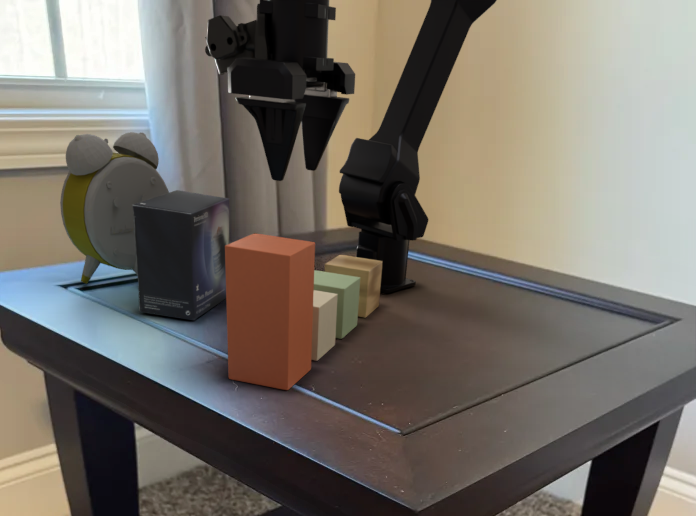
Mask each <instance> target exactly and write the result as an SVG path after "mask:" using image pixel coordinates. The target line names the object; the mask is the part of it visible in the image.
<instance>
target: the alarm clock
mask: <svg viewBox="0 0 696 516" xmlns="http://www.w3.org/2000/svg"><path fill="white" fill-rule="evenodd" d="M108 143H109V139H108V138H104V139H103V138H101V137H99V136H97V135H95V134H91V133H90V134H89V133H86V134H85V133H84V134H83V133H82V134H76V135H75V136H74V137H73V138H72V139H71V140H70V141H69V142H68V145H67V147H66V151H65V163H66V167H67V169H68V173H67V175H66V177H65V179H64V181H63V185H62V188H61V193H60V203H59V204H60V215H61V220H62V225H63V227H64V230H65V232H66V235H67V237H68V239H69V240H70V242H71V243H72V245H73V246H74V247H75V248H76V249H77V250H78V251H79V252H80V253H81V254H83V256H85V259H84V264H83V268H82V273H81V276H80V277H81V278H80V282H81V283H84V284H85V285H88V283H89V282H90V280H91V278H92V277H93V275H94V274H95V272H96V271H97V269H98V268H99V266H100V265H101V264H102V265H106V266H109V267H112V268H115V269H119V270H122V271H123V270H124V271H133V272H134V273H135V274H136V276H137V277H138V274H137V259H136V249H135V236H134V222H133V207H132V205H133V204H135V203H138V202H142V201H145V200H148V199H151V198H154V197H157V196H160V195H163V194H166V193H169V191H170V190H169V188H168V187H167V184H166V182H165V180H164V179H163V177H162V175H161V174H160V173H159V172H158V171H157V169H158V167H159V163H160V162H159V153H158V151H157V148H156V146H155V144H153V142H152V141H151V140H150V138H149V137H147V134H145V133H144V132H135V131H130V132H125V133H123V134H121V135H120V136H119V137H117V139H116V140H115V141H114V142H113V145H112V148H111V147H110V145H109V144H108ZM112 149H113V150H114V151H113V150H112Z"/></svg>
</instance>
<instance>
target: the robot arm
mask: <svg viewBox="0 0 696 516" xmlns="http://www.w3.org/2000/svg"><path fill="white" fill-rule="evenodd" d="M497 1H498V0H430V4H429V6H428V9H427V12H426V15H425V17H424V19H423V21H422V24H421V25H420V26H421V27H420V28H419V31H418V34H417V36H416V39H415V41H414V43H413V46H412V48H411V51H410V53H409V56H408V58H407V60H406V63H405V65H404V68H403V69H402V72H401V75H400V77H399V80H398V82H397V84H396V87H395V89H394V91H393V94H392V97H391V99H390V102H389V104H388V106H387V109H386V111H385V114H384V115H383V119H382V121H381V123H380V126H379V128H378V129H377V131H376V132H375V134H373V135H372V136H371V137H370V138H369V139H365V138H359V137H356V138H355V139H354V140H353V142H352V143H351V145H350V147H349V151H348V155H347V158H346V161H345V162H344V164H343V165H342V167H340V169H339V174H342V176H341V177H340V181H339V185H338V193H339V195H340V199H341V204H342V206H343V211H344V216H345V220H346V225H347V227H349V228H355V229H359V230H361V231H358V237H357V239H358V241H357V247H356V255H355V257H359V258H365V259H372V260H378V261H382V274H381V286H380V293H383V294H389V293H393V292H397V291H400V290H403V289H407V288H410V287H414V286H416V283H417V281H416V280H415V279H410V278H407V270H408V261H409V251H410V241H417V239H421V238H423V237H424V236H425V233H426V230H427V227H428V224H429V217H428V215H427V213H426V212H425V210H424V208H423V207H422V204H421V203H420V201H419V200H418V198H417V196H416V193H417V190H418V187H419V184H420V180H421V176H420V164H419V149H420V147H421V145H422V142H423V139H424V137H425V134H426V132H427V130H428V127H429V126H430V123H431V122H432V121H431V120H432V119H433V116H434V114H435V111H436V109H437V106H438V104H439V102H440V99H441V98H442V95H443V93H444V90H445V88H446V86H447V83H448V80H449V79H450V76H451V74H452V71H453V69H454V67H455V64H456V62H457V59H458V57H459V55H460V52H461V50H462V47H463V45H464V43H465V40H466V38H467V35H468V34H469V31H470V28H471V27H472V26H473V24H474V23H475V22H476V21H477V20H478V19H479V18H480V17H481V16H483V15H484V14H485V13H486V12H487V11H488V10H489V9H490V8H491V7H493V6H494V5H495V4H496V2H497ZM336 14H337V7H334V6H330V0H259V3H257V5H256V19H254V20H251V21H248V22H246V23H244V22H240V23H237V25H236V24H235V22H234V20H233V19H232V18H231V17H230V16H228V15H221V14H220V15H217V16H214V17H212V18H210V19H208V20H207V24H206V25H207V29H206V36H205V37H204V38H205V41H206V45H205V48H204V52H205V54H206V56H208V57H212V58H213V59H214V62H215V65H216V68H217V72H218V75H220V76H224V75H225V74H226V73H227V91H228V93H229V94H233V95H242V96H235V101H236V102H237V104H238V105H241V106H243V108H245V110H246V111H247V112H248V113H249V114H250V115H251V116H252V118H253V119H254V121H255V123H256V126H257V130H258V132H259V135H260V140H261V143H262V147H263V150H264V151H263V152H264V154H265V158H266V162H267V167H268V170H269V173H270V177H271V179H272V180H273V181H276V182H283V181H284V179H285V176H286V174H287V170H288V167H289V164H290V162H291V157H292V154H293V150H294V147H295V143H296V140H297V137H298V133H299V130H300V126H301V135H302V136H301V137H302V146H303V147H302V148H303V157H304V166H305V169H306V170H307V171H316V170H317V169H318V167H319V165H320V163H321V160H322V158H323V155H324V154H325V151H326V149H327V147H328V144H329V142H330V139H331V138H332V136H333V134H334V131H335V129H336V127H337V125H338V123H339V121H340V119H341V116H342V114H343V112H344V110H345V108H346V107H347V105H348V104H349V103H350V97H342V96H338V93H340V94H341V95H346V96H347V95H355V88H356V72H355V71H354V70H353V69H352V67H351V66H350V64H349V63H348V62H343V61H342V62H341V61H335V60H334V59H335V58H333V57H328V47H329V23H330V22H329V21H336Z"/></svg>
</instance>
